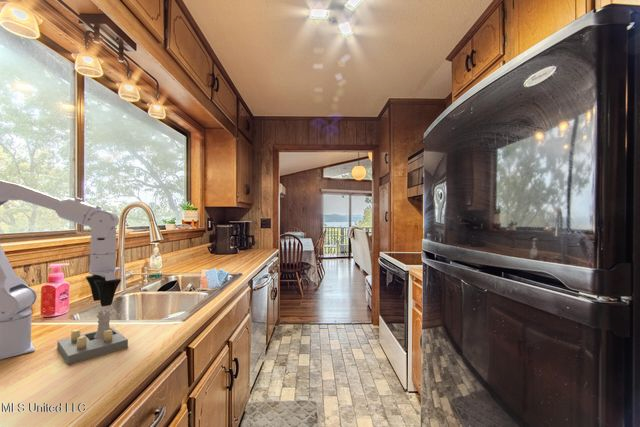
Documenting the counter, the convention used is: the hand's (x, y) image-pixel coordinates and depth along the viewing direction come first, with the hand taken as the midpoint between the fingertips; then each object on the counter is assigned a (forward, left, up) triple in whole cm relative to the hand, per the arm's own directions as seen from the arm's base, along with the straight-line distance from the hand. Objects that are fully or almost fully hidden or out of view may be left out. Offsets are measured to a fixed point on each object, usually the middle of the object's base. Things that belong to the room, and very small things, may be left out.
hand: (102, 302), depth 80 cm
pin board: (+3, -3, -10) cm, 11 cm away
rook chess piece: (+1, 0, -11) cm, 11 cm away
